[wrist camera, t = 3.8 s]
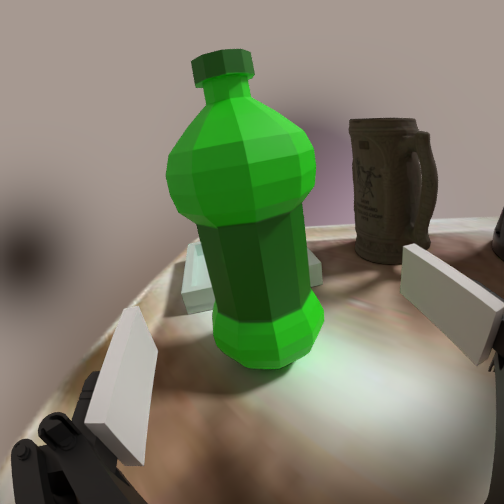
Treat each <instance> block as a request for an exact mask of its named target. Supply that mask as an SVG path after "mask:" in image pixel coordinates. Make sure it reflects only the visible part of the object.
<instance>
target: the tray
mask: <svg viewBox="0 0 504 504" xmlns="http://www.w3.org/2000/svg"><path fill="white" fill-rule="evenodd" d="M307 253H308V263H309V274H310V286H311V287H314V286H318V285H322V284H323V281H322V266H321V262H320V261H319V260H318V259H317V257H316V256H315V255H314V254H313V253H312V252H311V251H310V250H309V248H308V247H307ZM181 294H182V297H183V300H184V304H185V307H186V310H187V313H188V314H192V313H197V312H202V311H207V310H212V309H213V306H214V302H215V297H214V293H213V289H212V285H211V282H210V278H209V274H208V270H207V266H206V262H205V258H204V254H203V250H202V246H201V242H196V243H191V244H188V249H187V256H186V262H185V269H184V277H183V284H182V292H181Z"/></svg>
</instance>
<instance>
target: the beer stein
mask: <svg viewBox="0 0 504 504" xmlns="http://www.w3.org/2000/svg"><path fill="white" fill-rule="evenodd" d="M349 134H350V136H351V142H352V152H353V163H352V171H353V183H354V212H355V230H356V233H357V238H356V243H355V250H356V252H357V253H358V254H359V255H360V256H361V257H363V258H364V259H366V260H369V261H372V262H376V263H382V264H399V263H402V258H403V246H406V245H410V244H416V245H418V246H419V247H421V248H423V249H424V250H427V249H429V247H430V244H431V241H430V238H429V235H428V227H429V223H430V219H431V217H432V215H433V211H434V208H435V204H436V200H437V192H438V174H437V168H436V164H435V160H434V157H433V154H432V150H431V146H430V134H429V133H428V132H423V131H419V130H418V127H417V124H416V120H415V119H412V118H369V119H350V120H349ZM419 162H420V164H419ZM420 166H421V167H420ZM421 174H422V178H421ZM421 185H422V187H421Z"/></svg>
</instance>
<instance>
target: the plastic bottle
mask: <svg viewBox="0 0 504 504" xmlns="http://www.w3.org/2000/svg"><path fill="white" fill-rule="evenodd" d="M191 64H192V70H193V76H194V82H195V86H196V88H203V89H204V95H205V100H206V106H205V107H204V108H203V109H202V111H201V112H200V113H199V114H198V115H197V116H196V118H195V119H194V120H193V121H192V123H191V124H190V125H189V126H188V128H187V129H186V130H185V132H184V133H183V135H182V136H181V138H180V139H179V141H178V142H177V143H176V145H175V147H174V148H173V149H172V151H171V153H170V154H169V156H168V163H167V171H166V180H167V184H168V188H169V193H170V196H171V198H172V200H173V202H174V204H175V206H176V208H177V210H178V212H179V213H180V214H182V215H183V216H185V217H186V218H188V219H189V220H191V221H192V222H194V223H195V224H196V225H197V229H198V234H199V238H200V242H201V246H202V250H203V254H204V258H205V262H206V266H207V270H208V274H209V278H210V282H211V285H212V289H213V293H214V297H215V302H214V306H213V313H212V320H213V336H214V339H215V342H216V345H217V347H218V348H219V349H220V350H221V351H222V352H223V353H224V354H226V355H227V356H229V357H230V358H232V359H234V360H235V361H237V362H238V363H240V364H242V365H243V366H245V367H247V368H250V369H280V368H282V367H284V366H286V365H288V364H290V363H292V362H294V361H296V360H298V359H300V358H302V357H303V356H305V355H306V354H308V353H309V352H310V350H311V348H312V346H313V344H314V342H315V340H316V338H317V336H318V334H319V332H320V329H321V327H322V325H323V322H324V310H323V308H322V306H321V304H320V302H319V300H318V298H317V297H316V295H315V294H314V292H313V291H312V289H311V286H310V274H309V263H308V253H307V243H306V233H305V224H304V215H303V207H302V202H303V201H304V199H305V198H306V197H307V195H308V194H309V192H310V191H311V190H312V189H313V187H314V185H315V174H316V162H315V154H314V148H313V146H312V145H311V143H310V141H309V139H308V137H307V135H306V134H305V132H304V131H303V130H302V129H301V128H299V127H298V126H296V125H295V124H294V123H292V122H291V121H289V120H288V119H286V118H285V117H284V116H282V115H281V114H279V113H278V112H276V111H275V110H273V109H271V108H269V107H267V106H266V105H264V104H262V103H261V102H259V101H257V100H255V99H253V98H251V94H250V89H249V84H248V80H249V79H252V78H253V76H254V75H255V73H254V68H253V62H252V57H251V53H250V52H249V51H246V50H243V49H225V50H219V51H215V52H211V53H207V54H203V55H201V56H199V57H197V58H196V59H194V60H192V61H191Z"/></svg>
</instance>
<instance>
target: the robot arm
mask: <svg viewBox="0 0 504 504" xmlns="http://www.w3.org/2000/svg"><path fill="white" fill-rule="evenodd" d="M492 247H493V250H494V251H495V253H496V254H497V255H498V256H499V257H500V258H501V259H503V260H504V208H503V210H502V213H501V215H500V218H499V220H498V223H497V225H496V228H495V230H494V234H493V242H492ZM400 293H401V294H402V295H403V296H404V297H406V298H407V299H408V300H409V301H410V302H411V303H412V304H413V305H414V306H415V307H416V308H418V309H419V310H420V311H421V312H422V313H423V314H424V315H425V316H426V317H427V318H428V319H429V320H430V321H431V322H433V323H434V324H435V325H436V326H437V327H438V328H439V329H440V330H441V331H442V332H443V333H444V334H445V335H446V336H447V337H448V338H449V339H450V340H451V341H452V342H453V343H454V344H455V345H456V346H457V347H458V348H459V349H460V350H461V351H462V352H463V353H464V354H465V355H466V356H467V357H468V358H469V359H470V360H471V361H472V362H473V363H474V364H475V365H476V366H478V365H479V364H481V363H482V362H484V361H485V360H487V359H488V356H489V354H490V352H491V349H492V348H493V349H494V350H495V351H496V353H495V355H494V357H493V360H492V362H491V364H490V367H489V370H488V372H490V371H491V369H492V367H493V366H494V365H495V369H494V371H493V372H495V379H496V440H495V453H494V463H493V471H492V478H491V484H490V490H489V495H488V498H487V500H486V502H485V503H484V504H504V299H502V298H501V297H500V296H498V295H497V294H496V293H494V292H491V290H490V289H488V288H486V287H485V286H484V285H483V284H481V283H480V282H478V281H476V280H473V279H471V278H468V277H466V276H465V275H463V274H462V273H460V272H459V271H457V270H456V269H454V268H453V267H451V266H450V265H448V264H447V263H445V262H443V261H442V260H440V259H439V258H437V257H436V256H434V255H432V254H431V253H429V252H428V251H426V250H424V249H423V248H421V247H419V246H418V245H416V244H410V245H406V246H403V258H402V274H401V286H400ZM157 354H158V350H157V348H156V346H155V343H154V341H153V339H152V336H151V334H150V332H149V330H148V327H147V325H146V322H145V320H144V318H143V315H142V313H141V310H140V308H139V306H135V307H129V308H124V310H123V312H122V315H121V317H120V320H119V322H118V325H117V327H116V330H115V332H114V335H113V338H112V340H111V343H110V346H109V348H108V351H107V354H106V357H105V359H104V362H103V365H102V368H101V371H96V372H92V373H91V374H90V375H89V377H88V378H87V379H86V380H85V383H84V385H83V388H82V392H81V394H80V397H79V400H78V402H77V405H76V408H75V411H74V414H73V418H72V421H71V420H70V419H69V418H68V417H67V416H66V414H64V413H61V412H55V413H52V414H49V415H48V416H46V417H45V418H44V419H43V420H42V422H41V423H40V425H39V428H38V435H39V437H40V438H41V439H42V440H43V441H44V442H45V443H46V444H47V445H43V446H39V447H38V446H37V445H36V444H35V443H34V442H33V441H32V440H30V439H22V440H20V441H18V442H17V443H16V444H15V445H14V447H13V449H12V452H11V466H12V479H13V488H14V496H15V503H16V504H147V502H146V501H145V500H144V499H143V498H142V497H141V496H140V495H139V493H138V492H137V491H136V490H135V489H134V487H133V486H132V485H131V484H130V483H129V481H128V480H127V479H126V478H125V476H124V475H123V474H122V472H121V471H120V470H119V469H118V468H117V467H116V465H117V459H118V460H119V461H120V462H122V463H123V464H124V465H125V466H144V459H145V448H146V437H147V428H148V419H149V410H150V402H151V395H152V387H153V380H154V374H155V367H156V361H157Z"/></svg>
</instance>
